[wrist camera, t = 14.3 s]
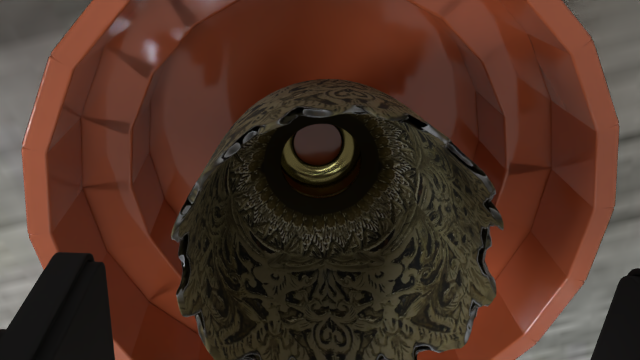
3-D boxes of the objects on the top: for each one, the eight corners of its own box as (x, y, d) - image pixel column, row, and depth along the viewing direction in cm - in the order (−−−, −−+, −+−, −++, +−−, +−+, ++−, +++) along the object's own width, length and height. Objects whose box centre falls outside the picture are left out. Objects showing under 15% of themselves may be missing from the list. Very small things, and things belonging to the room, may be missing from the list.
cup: (409, 237, 22) (476, 400, 15) (211, 235, 21) (178, 403, 14) (438, 37, 19) (540, 118, 12) (206, 27, 18) (160, 106, 11)
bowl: (308, -227, 16) (325, -297, 11) (609, 127, 21) (724, 202, 16) (3, 150, 20) (-99, 241, 15) (319, 371, 25) (332, 498, 20)
